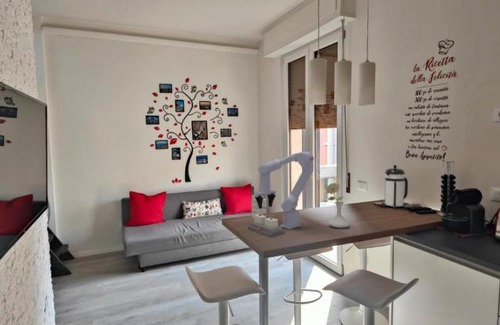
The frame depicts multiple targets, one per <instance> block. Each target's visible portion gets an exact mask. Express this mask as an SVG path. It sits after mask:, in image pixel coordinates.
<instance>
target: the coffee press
mask: <svg viewBox="0 0 500 325" xmlns="http://www.w3.org/2000/svg"><path fill="white" fill-rule="evenodd" d="M397 167H398V165H396V164H394V165H393V168H387V169H386V170H385V171H384V174H385V177H384V202H383V204H382V207H384V208H385V206H389V207H393V210H397V209H396V207H402V208H403V207H405V208H406V205H404V201H405V199H406V198H407V197H408V192H409V191H408V190H409V188H408V187H409V182H408V179H407V177H405V176H406V173H405V170H403V169H401V168H397Z"/></svg>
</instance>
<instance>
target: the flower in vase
mask: <svg viewBox="0 0 500 325" xmlns="http://www.w3.org/2000/svg"><path fill="white" fill-rule="evenodd" d="M339 190H340V184H339V183H337V182H331V183H329V184H328V185H327V186H326V188H325V191H326V193H327V194H330V195H331V194H334V196H330V197H328V199H327V200H330V201H334V200H335V202H334V203H335V206H336V215H335V216H334V217H333V218H331V219H330V220H329V221H328V225H329V226H330V227H333V228H337V229H339V228H341V229H342V228H348V227H349V226H350V222H349V221H348V220H347V219H346V218H345V217H344V216H343V215H342V208H343V206H344V201H342V200H343V198H344V195H342V196H339V197H338V198H336V194H335V193H337V192H338V191H339Z"/></svg>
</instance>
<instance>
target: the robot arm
mask: <svg viewBox="0 0 500 325" xmlns="http://www.w3.org/2000/svg"><path fill="white" fill-rule="evenodd" d="M314 160H315V157H314V156H313V154H312V152H311V151H309V150H306V151H299V152H296V153H292V154H290V155H288V156H286V157H284V158H282V159H278V158H273V159H272V160H271V161H269V162H268V161H267V162H266V163H264V164H260V165H259V167H258V172H259V175H260V178H259V182H260V185H259V186H260V191H258V192H256V193H254V195H255V199H256V201H257V203H258V207H259V208H260V209H262V202H263V197H261V196H264V197H265V196H266V197H267V200H268V202H267V204H268V207H270V208H272V207H273V203H274V200H275V198H276V190H271V173H273V172H276V171H277V170H280V169H282V166H284V165H286V164H289V163H292V162H295V163H296V162H297V163H298V164H299V165H300V166H301V169H302V172H301V173H300V175H299V176H298V178H297V181H296V183H295V185H294V186H293V188H292V190H291V192H290V193H289V195H288V196H287V197H286V198H285V200H284V201H282V203H280V204H281V206H280V207H281V210H282V224H280V225H279V226H280V227H282V228H285V229H289V230H291V229H295V228H298V227H302V225H301V214H300V211H299V210H297V209H296V208H297V207H298V202H299V199H300V196H301V194H302V193H303V190H304V188H305V186H306V185H307V183H308V182H309V180H310V178H311V176H312V174H313V172H314Z"/></svg>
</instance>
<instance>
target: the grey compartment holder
mask: <svg viewBox="0 0 500 325" xmlns="http://www.w3.org/2000/svg"><path fill="white" fill-rule="evenodd" d="M249 224H250V225H248V226H247V229H248V230H249V231H253V232H255V233H258V234H261V235H263V236H266V237H269V238H272V237H277V236H281V235H284V234H286V233H285V231H286V230H283V227H281V226H280V225H279V219H278V218H274V217H272V216H270V217H266V219H265V224H264V225H258V224H255V223H254V221H251V222H250V223H249Z"/></svg>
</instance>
